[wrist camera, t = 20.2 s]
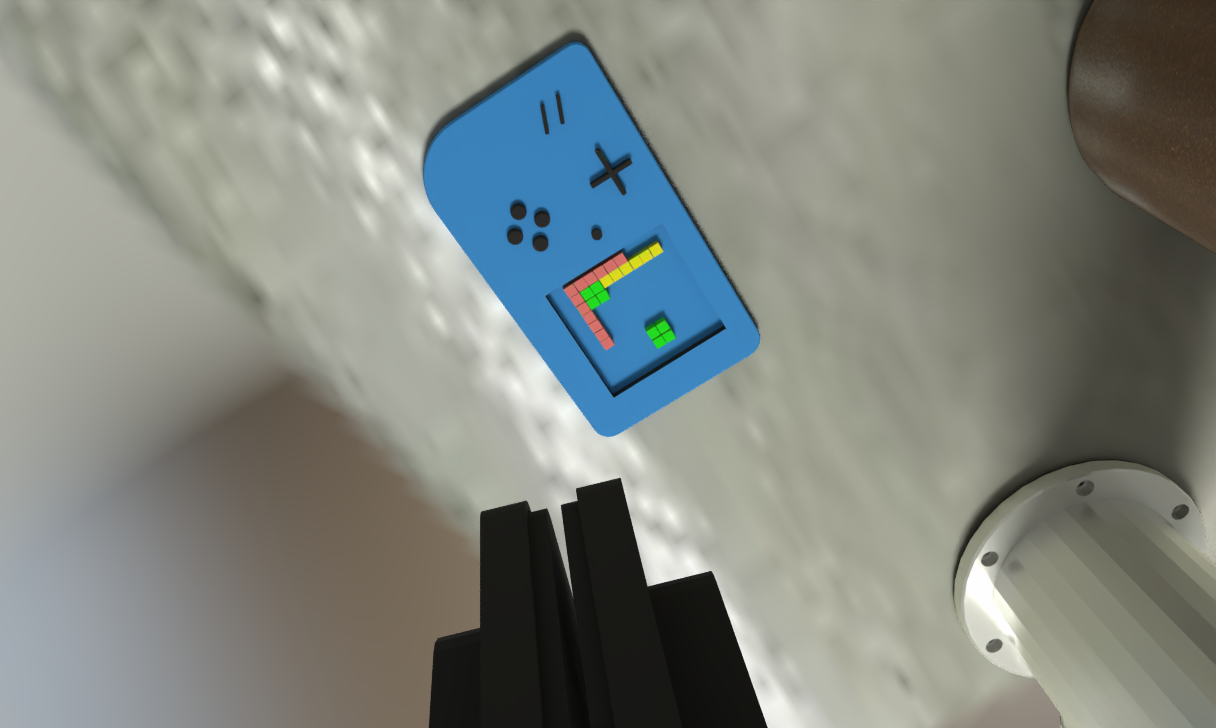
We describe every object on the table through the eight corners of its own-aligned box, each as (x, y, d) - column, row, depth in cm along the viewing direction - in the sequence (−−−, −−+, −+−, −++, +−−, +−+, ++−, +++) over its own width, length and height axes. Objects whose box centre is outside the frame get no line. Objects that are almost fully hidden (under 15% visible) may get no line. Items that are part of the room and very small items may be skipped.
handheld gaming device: (581, 37, 36) (769, 348, 43) (579, 33, 37) (762, 338, 44) (395, 161, 37) (605, 446, 44) (398, 154, 38) (602, 434, 45)
